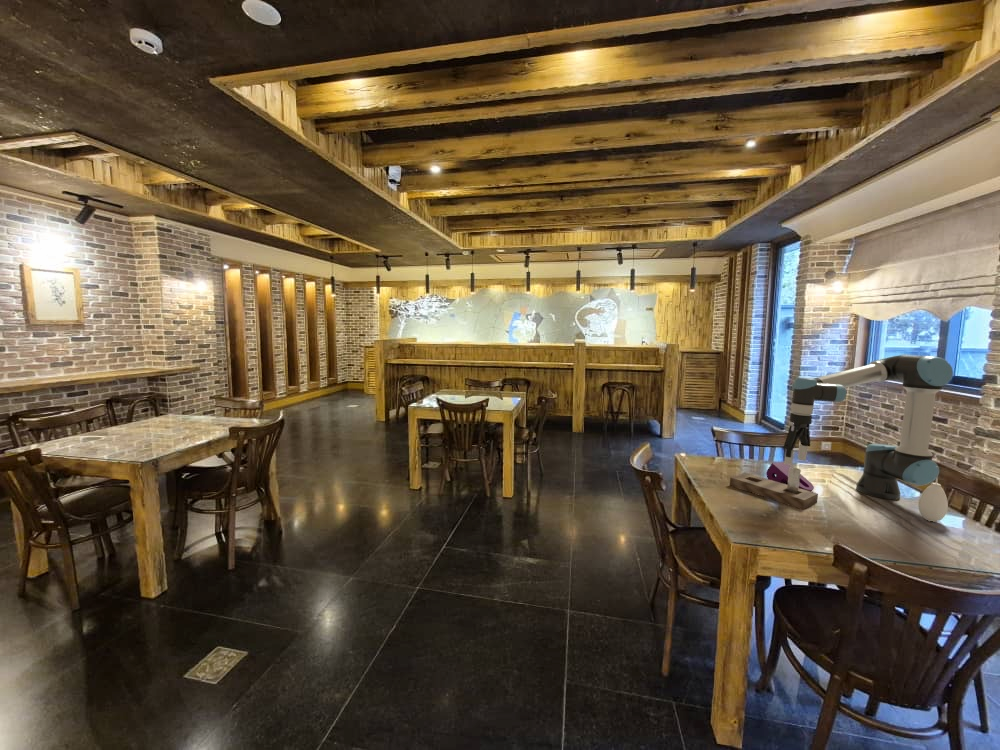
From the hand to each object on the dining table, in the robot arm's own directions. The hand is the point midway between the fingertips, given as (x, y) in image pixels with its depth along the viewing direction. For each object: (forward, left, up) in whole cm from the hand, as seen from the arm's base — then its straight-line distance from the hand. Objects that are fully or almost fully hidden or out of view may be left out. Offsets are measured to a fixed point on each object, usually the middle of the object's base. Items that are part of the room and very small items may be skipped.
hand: (795, 462), depth 178 cm
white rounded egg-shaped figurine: (-38, -27, -17) cm, 50 cm away
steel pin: (0, 0, -17) cm, 17 cm away
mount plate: (+8, 0, -17) cm, 19 cm away
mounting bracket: (+8, -20, -17) cm, 28 cm away
